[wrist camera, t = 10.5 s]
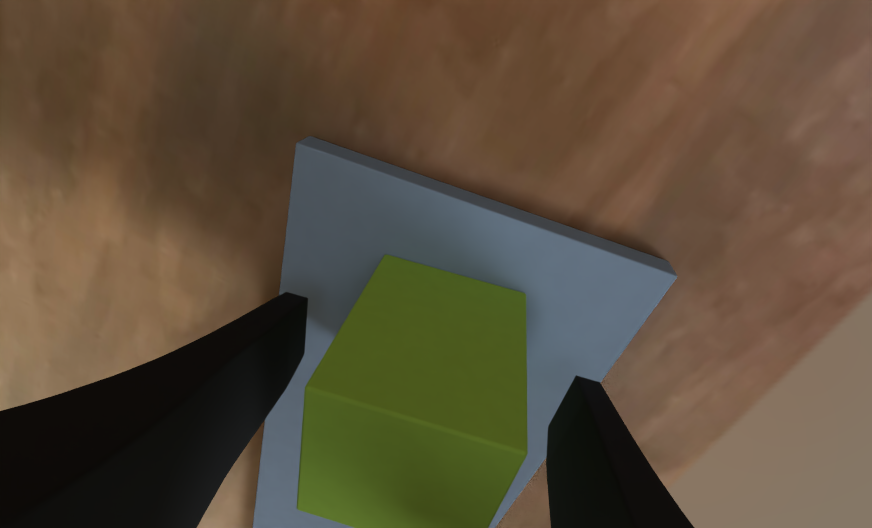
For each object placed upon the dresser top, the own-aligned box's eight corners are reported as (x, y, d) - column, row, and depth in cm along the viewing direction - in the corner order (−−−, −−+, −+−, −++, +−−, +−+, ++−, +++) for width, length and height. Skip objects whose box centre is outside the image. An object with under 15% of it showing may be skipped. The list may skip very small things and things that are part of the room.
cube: (527, 292, 11) (529, 455, 7) (486, 392, 13) (470, 564, 9) (384, 252, 12) (303, 387, 7) (366, 357, 14) (295, 510, 9)
